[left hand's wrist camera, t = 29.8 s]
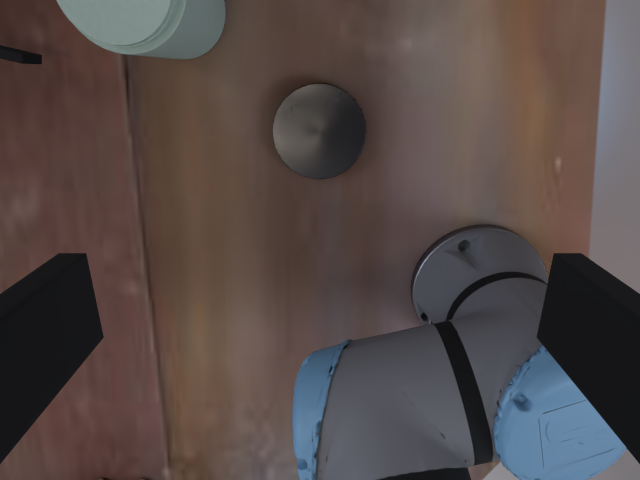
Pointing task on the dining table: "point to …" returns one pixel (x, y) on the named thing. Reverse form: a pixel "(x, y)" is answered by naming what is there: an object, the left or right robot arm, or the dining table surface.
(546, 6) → the dining table surface
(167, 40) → the jar
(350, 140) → the lid
